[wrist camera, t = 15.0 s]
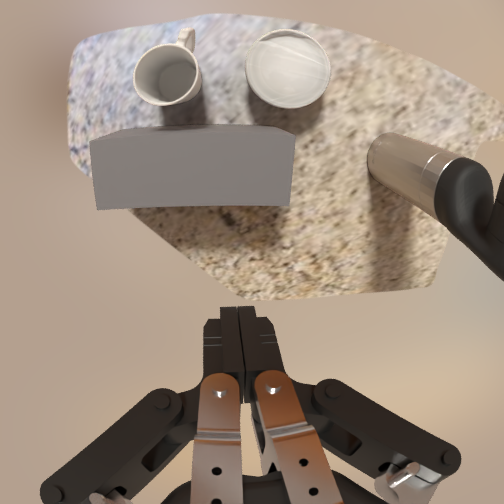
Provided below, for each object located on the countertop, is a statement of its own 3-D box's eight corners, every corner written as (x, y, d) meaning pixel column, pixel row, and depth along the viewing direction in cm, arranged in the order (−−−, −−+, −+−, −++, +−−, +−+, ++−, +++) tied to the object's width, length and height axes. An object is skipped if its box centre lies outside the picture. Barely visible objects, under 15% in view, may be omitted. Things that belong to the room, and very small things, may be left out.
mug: (193, 110, 36) (184, 113, 25) (149, 99, 34) (124, 98, 24) (219, 47, 31) (220, 26, 21) (174, 36, 30) (158, 11, 19)
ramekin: (308, 32, 31) (320, 24, 27) (325, 100, 37) (339, 101, 32) (232, 45, 32) (235, 37, 27) (252, 115, 37) (257, 117, 33)
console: (273, 126, 38) (295, 135, 28) (270, 178, 42) (289, 206, 32) (122, 129, 35) (89, 141, 25) (125, 181, 39) (97, 210, 29)
